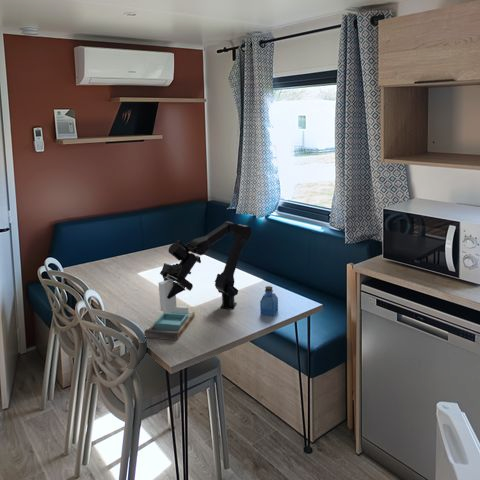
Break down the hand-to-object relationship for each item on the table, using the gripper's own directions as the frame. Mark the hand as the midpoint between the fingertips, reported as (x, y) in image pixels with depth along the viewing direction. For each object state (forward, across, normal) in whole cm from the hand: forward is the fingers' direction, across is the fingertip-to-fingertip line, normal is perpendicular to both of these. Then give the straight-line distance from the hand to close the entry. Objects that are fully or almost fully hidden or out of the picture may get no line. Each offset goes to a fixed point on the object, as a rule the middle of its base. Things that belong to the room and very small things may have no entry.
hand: (164, 296), depth 214 cm
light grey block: (+4, 0, +6) cm, 7 cm away
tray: (+7, -1, +12) cm, 13 cm away
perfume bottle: (-20, +18, +40) cm, 48 cm away
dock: (+9, +2, +10) cm, 14 cm away
